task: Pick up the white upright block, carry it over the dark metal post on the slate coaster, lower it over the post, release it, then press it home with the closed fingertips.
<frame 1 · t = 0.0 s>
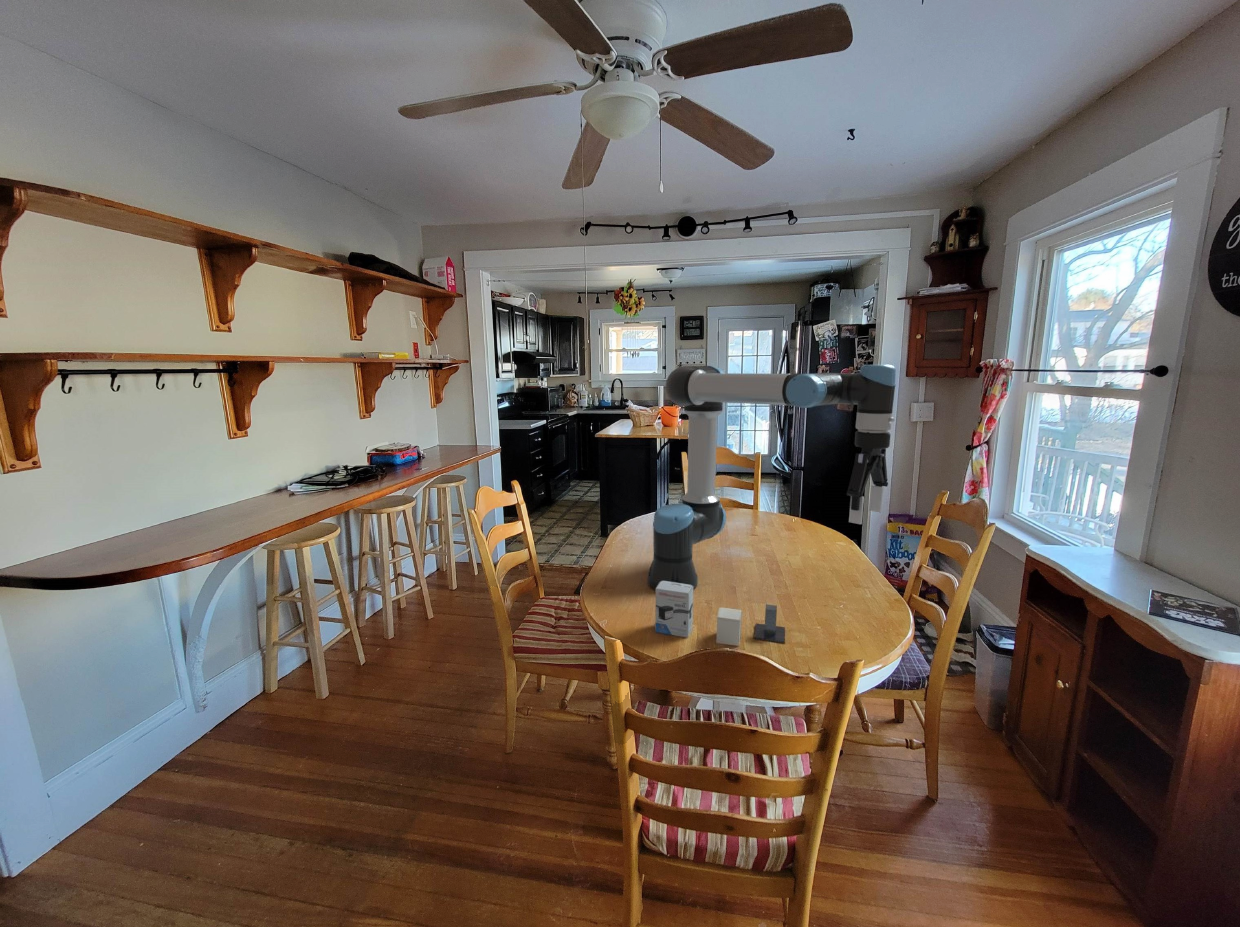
hand: (865, 517, 125), 28 cm above the table, fingers open, 13 cm apart
white upright block: (728, 638, 122), on the table
post: (769, 633, 125), on the table
ink box: (673, 631, 126), on the table
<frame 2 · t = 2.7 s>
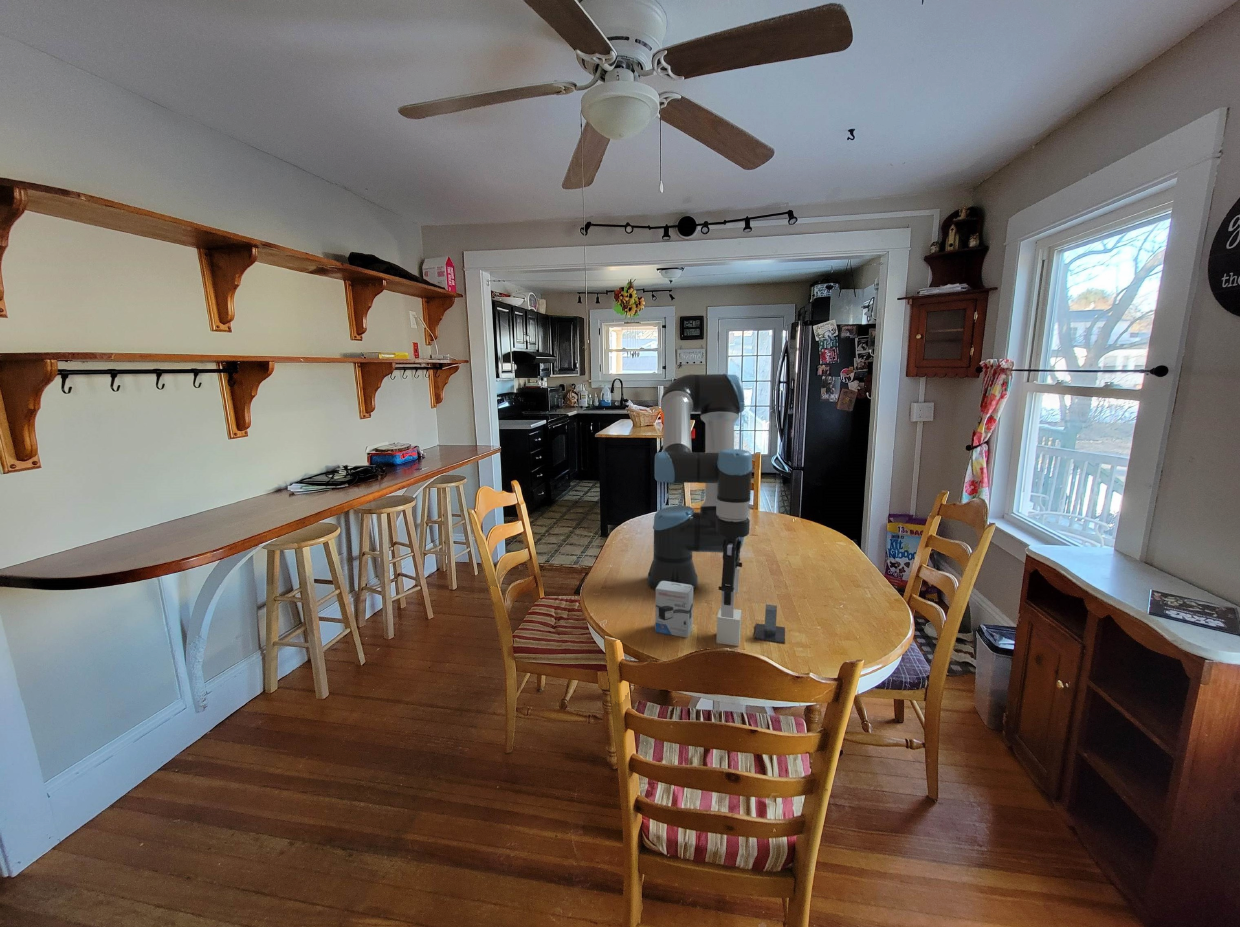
hand: (730, 604, 120), 9 cm above the table, fingers open, 13 cm apart
nothing on the table moved.
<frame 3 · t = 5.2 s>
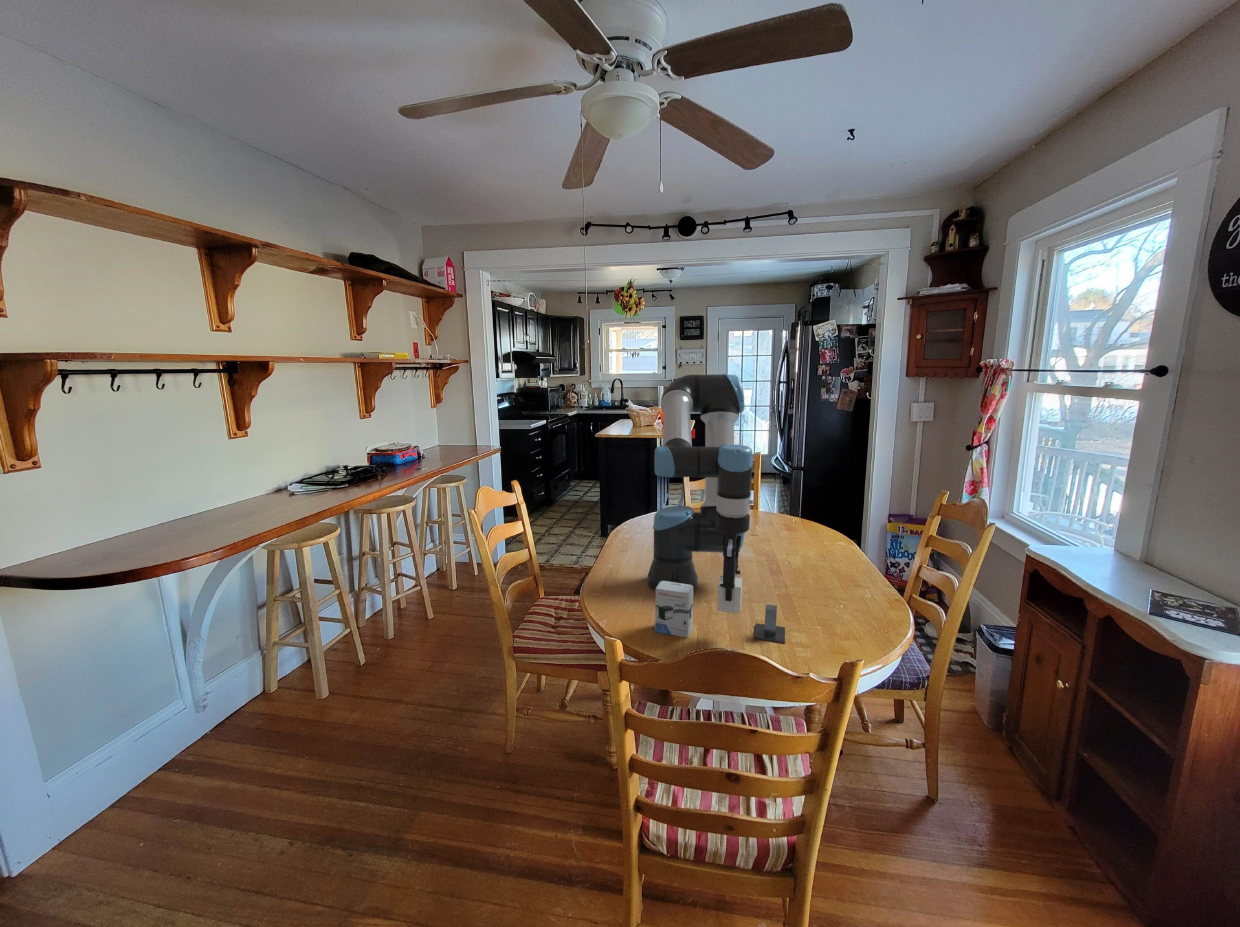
hand: (729, 605, 121), 8 cm above the table, fingers closed on white upright block, 5 cm apart
white upright block: (729, 606, 122), point 8 cm above the table, touching gripper
everything else where it was.
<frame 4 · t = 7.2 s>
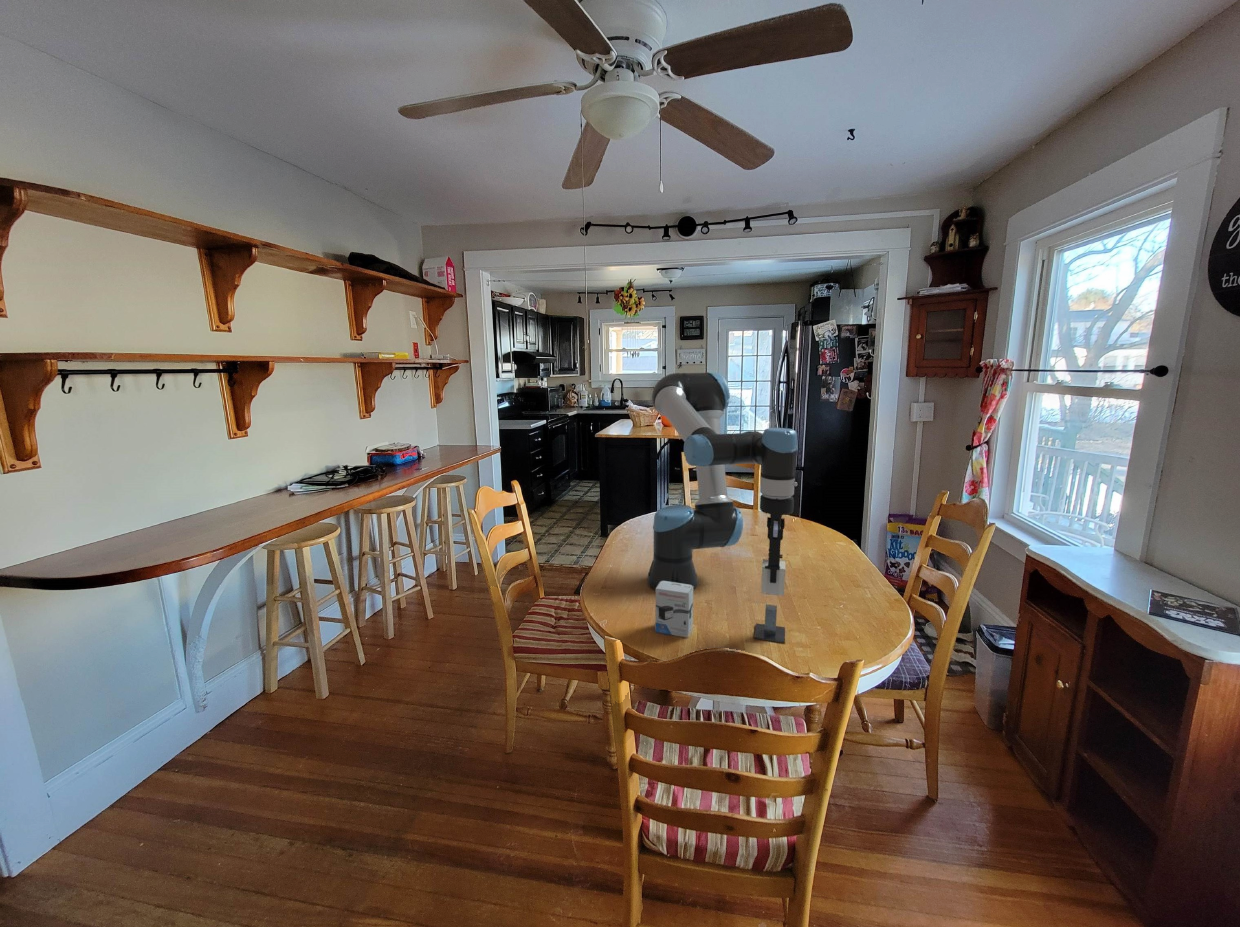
hand: (772, 588, 122), 12 cm above the table, fingers closed on white upright block, 5 cm apart
white upright block: (772, 590, 122), point 12 cm above the table, touching gripper
everything else where it was.
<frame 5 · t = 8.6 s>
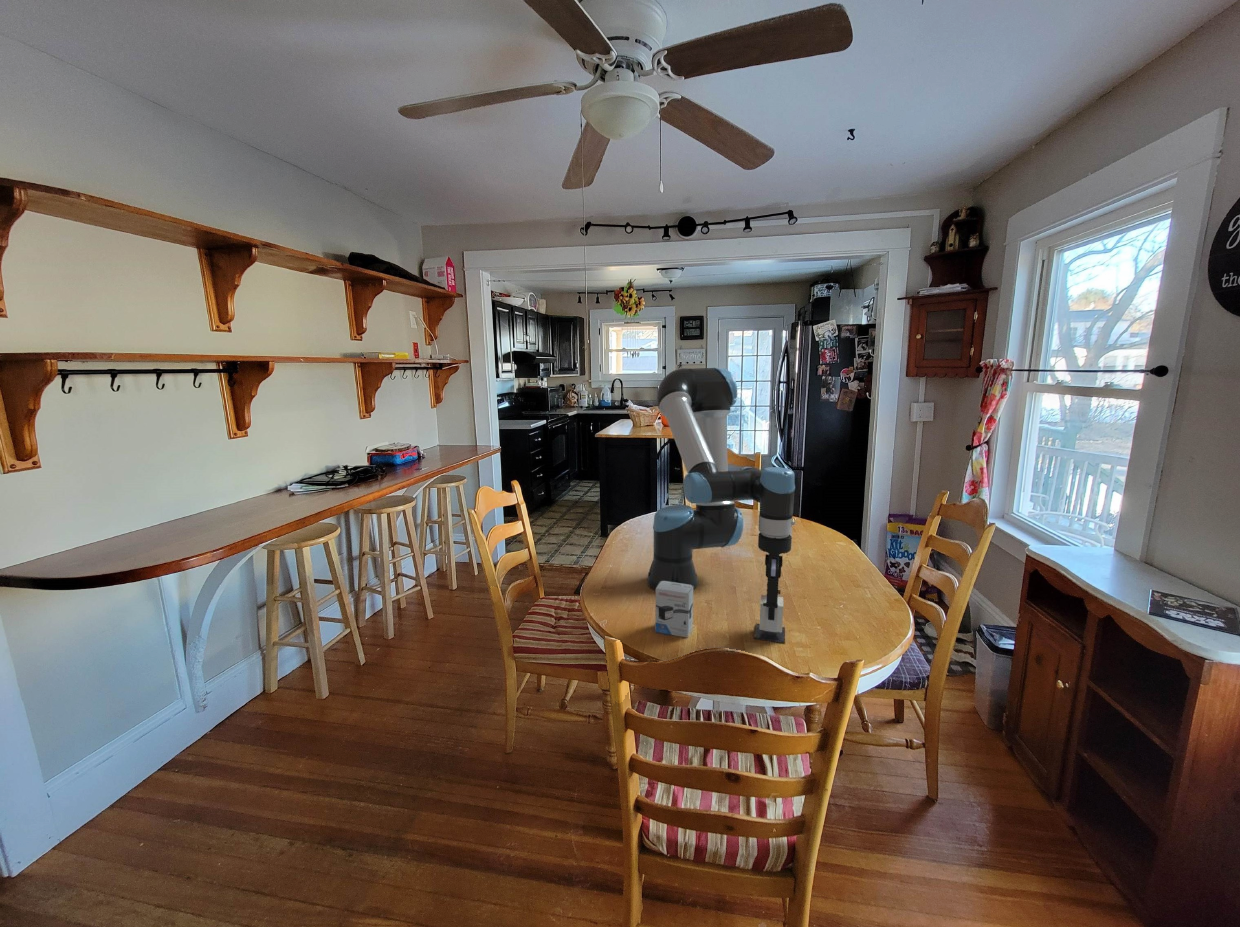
hand: (770, 624, 124), 3 cm above the table, fingers closed on white upright block, 5 cm apart
white upright block: (770, 625, 124), point 2 cm above the table, touching gripper
everything else where it was.
when the fingers open (1 cm above the table, at t = 9.2 s): white upright block stays where it is, resting on post.
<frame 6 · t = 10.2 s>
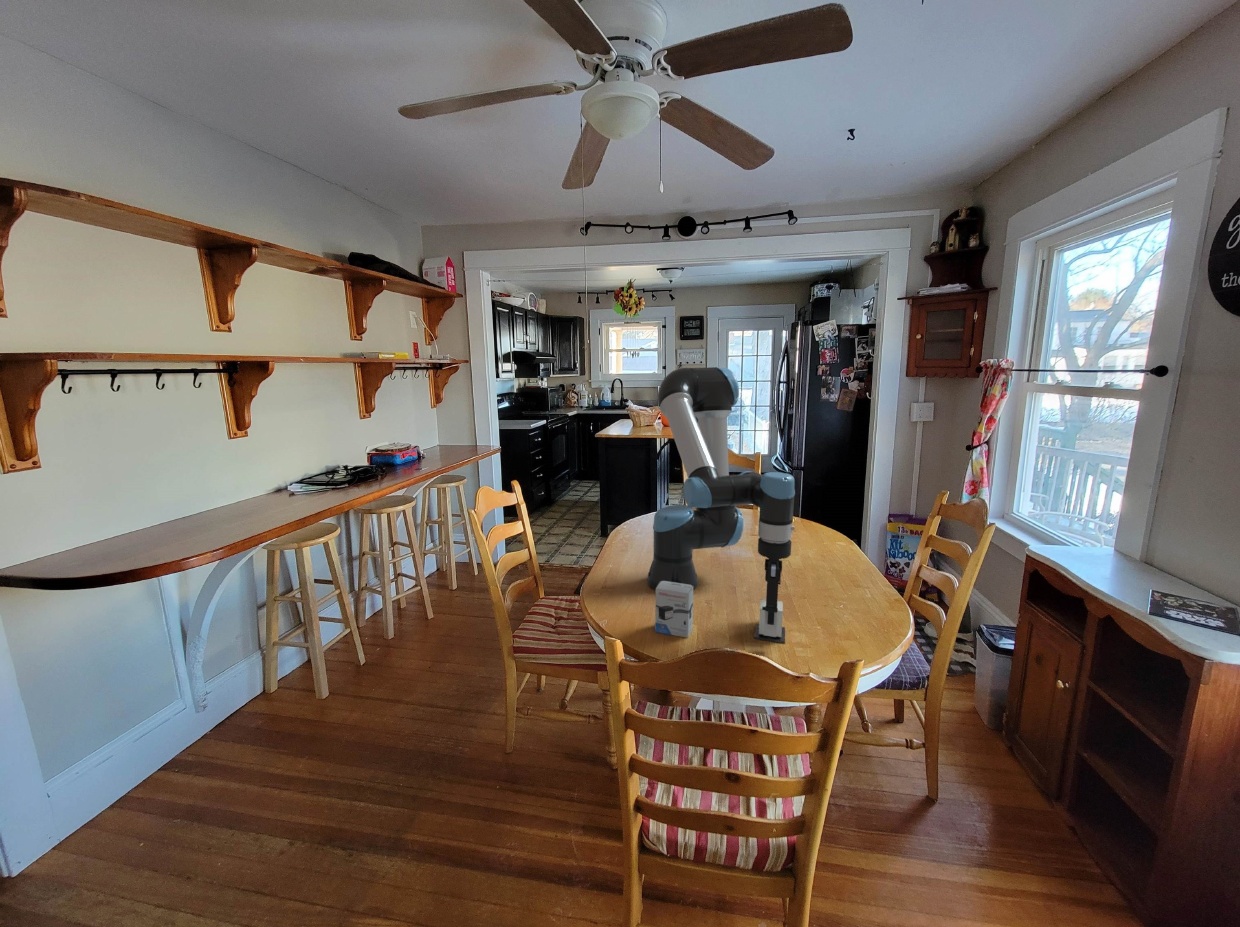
hand: (770, 621, 124), 3 cm above the table, fingers open, 13 cm apart
white upright block: (770, 630, 124), point 1 cm above the table, touching post
everything else where it was.
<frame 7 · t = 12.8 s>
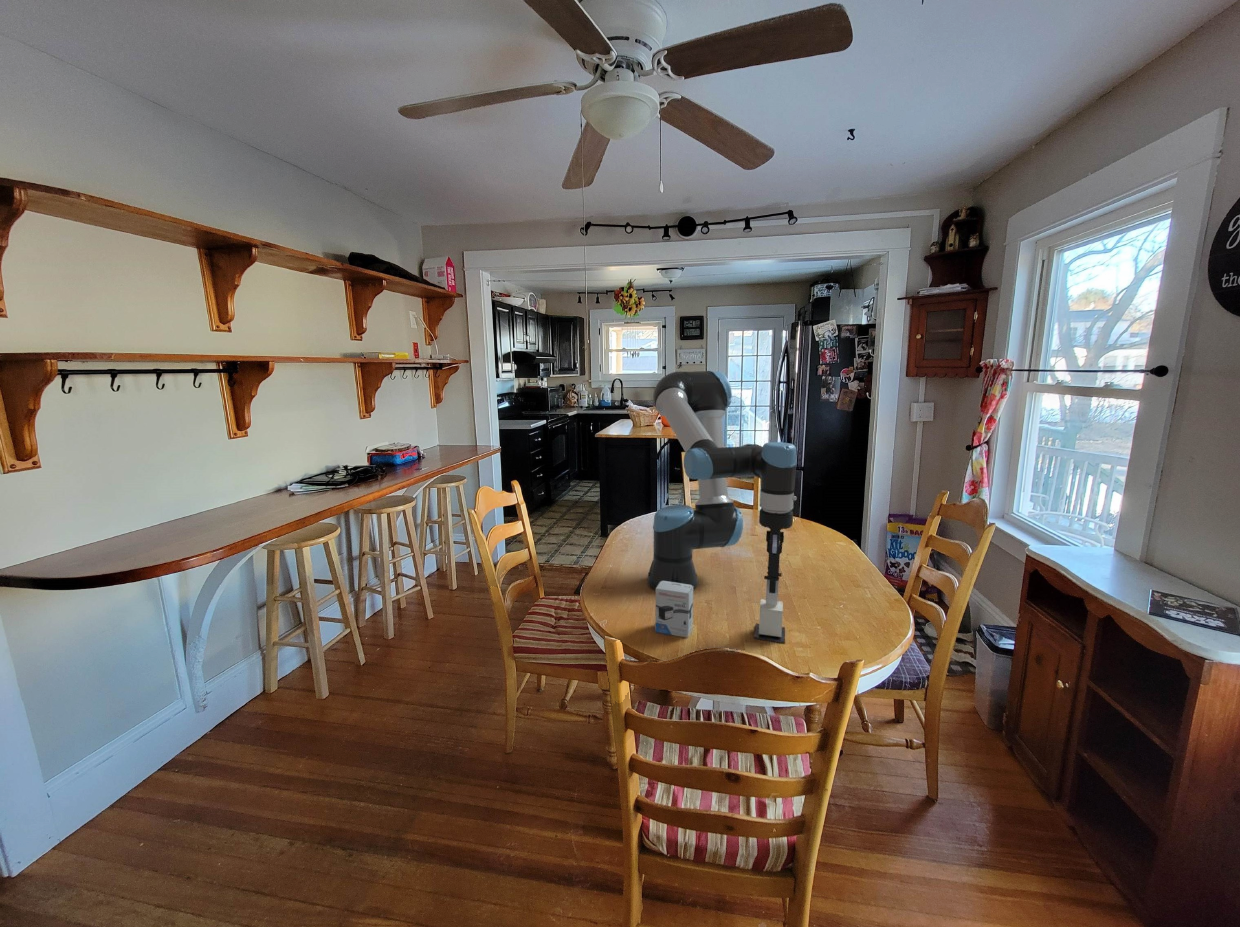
hand: (771, 603, 123), 8 cm above the table, fingers closed
nothing on the table moved.
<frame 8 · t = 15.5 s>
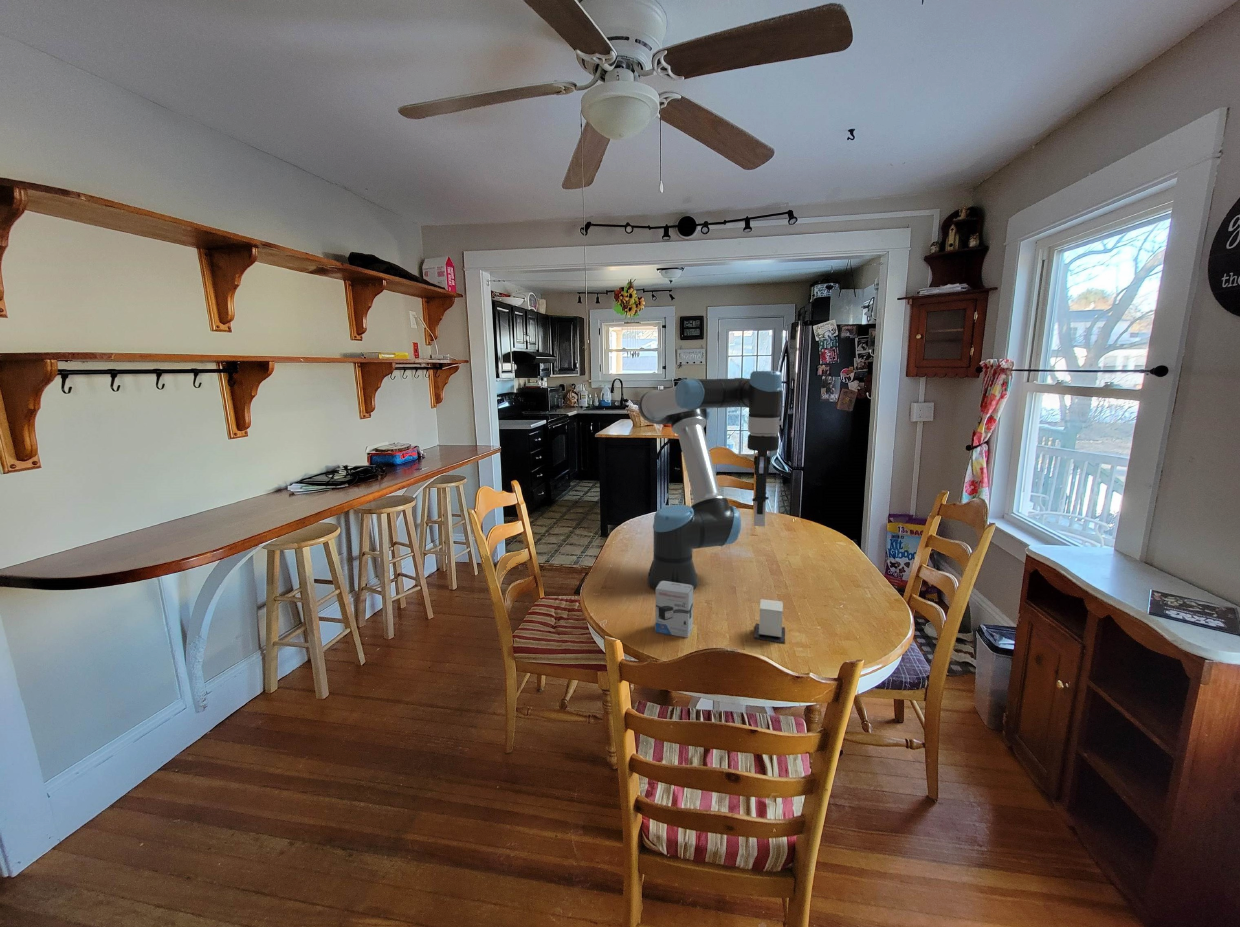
hand: (759, 525, 130), 24 cm above the table, fingers closed
nothing on the table moved.
at the end: white upright block 0.0 cm from the post (horizontally); white upright block point 1.0 cm above the table; white upright block tilted 0° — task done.
